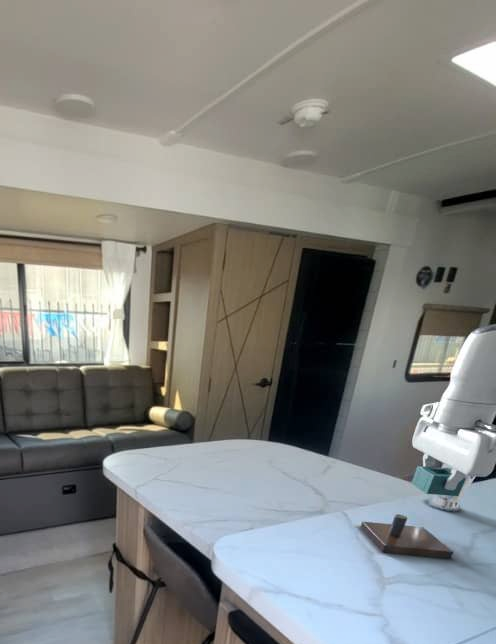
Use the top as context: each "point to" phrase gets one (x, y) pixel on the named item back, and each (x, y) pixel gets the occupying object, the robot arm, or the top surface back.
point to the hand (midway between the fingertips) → (436, 482)
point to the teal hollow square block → (435, 480)
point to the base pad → (405, 539)
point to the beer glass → (450, 501)
